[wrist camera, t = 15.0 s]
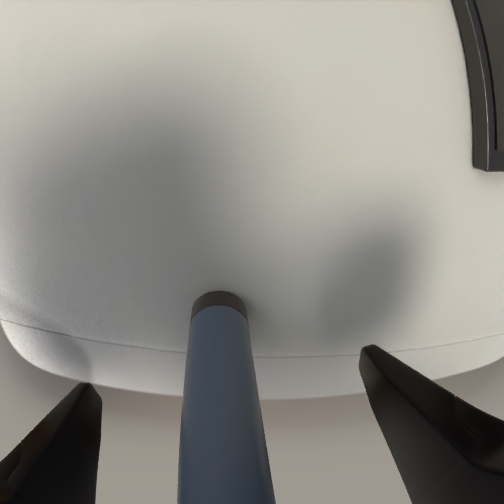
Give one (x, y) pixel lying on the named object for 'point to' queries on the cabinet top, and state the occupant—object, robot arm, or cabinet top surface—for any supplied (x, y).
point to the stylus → (221, 410)
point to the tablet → (485, 77)
